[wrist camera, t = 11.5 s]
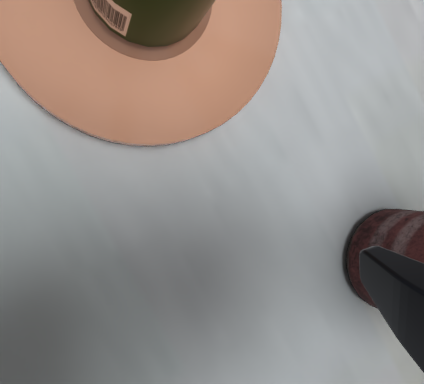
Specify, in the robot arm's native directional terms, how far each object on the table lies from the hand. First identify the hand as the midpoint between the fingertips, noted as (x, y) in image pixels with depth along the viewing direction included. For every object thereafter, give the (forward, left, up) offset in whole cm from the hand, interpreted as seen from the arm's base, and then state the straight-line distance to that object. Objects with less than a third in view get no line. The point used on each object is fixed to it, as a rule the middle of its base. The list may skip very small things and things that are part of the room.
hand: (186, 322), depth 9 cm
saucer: (+9, +8, -10) cm, 16 cm away
